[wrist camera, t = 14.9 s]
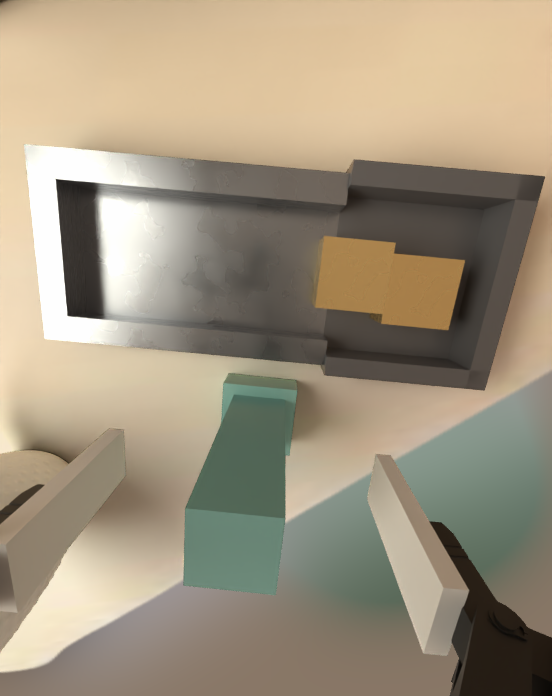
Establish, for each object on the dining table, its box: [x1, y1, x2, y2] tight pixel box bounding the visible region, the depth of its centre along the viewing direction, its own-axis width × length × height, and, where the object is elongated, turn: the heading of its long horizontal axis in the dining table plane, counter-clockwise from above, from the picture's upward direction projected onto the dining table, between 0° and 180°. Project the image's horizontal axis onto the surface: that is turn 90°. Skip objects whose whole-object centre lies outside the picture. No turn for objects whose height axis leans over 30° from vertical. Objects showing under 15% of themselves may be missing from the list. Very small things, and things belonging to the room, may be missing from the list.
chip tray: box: [321, 160, 545, 390], centre depth 18 cm, size 12×10×3 cm
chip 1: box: [311, 236, 396, 314], centre depth 18 cm, size 4×4×2 cm
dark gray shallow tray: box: [24, 144, 350, 365], centre depth 19 cm, size 11×18×2 cm, turn 85°
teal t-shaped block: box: [183, 373, 297, 595], centre depth 16 cm, size 5×5×12 cm
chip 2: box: [369, 254, 465, 330], centre depth 18 cm, size 4×4×2 cm
